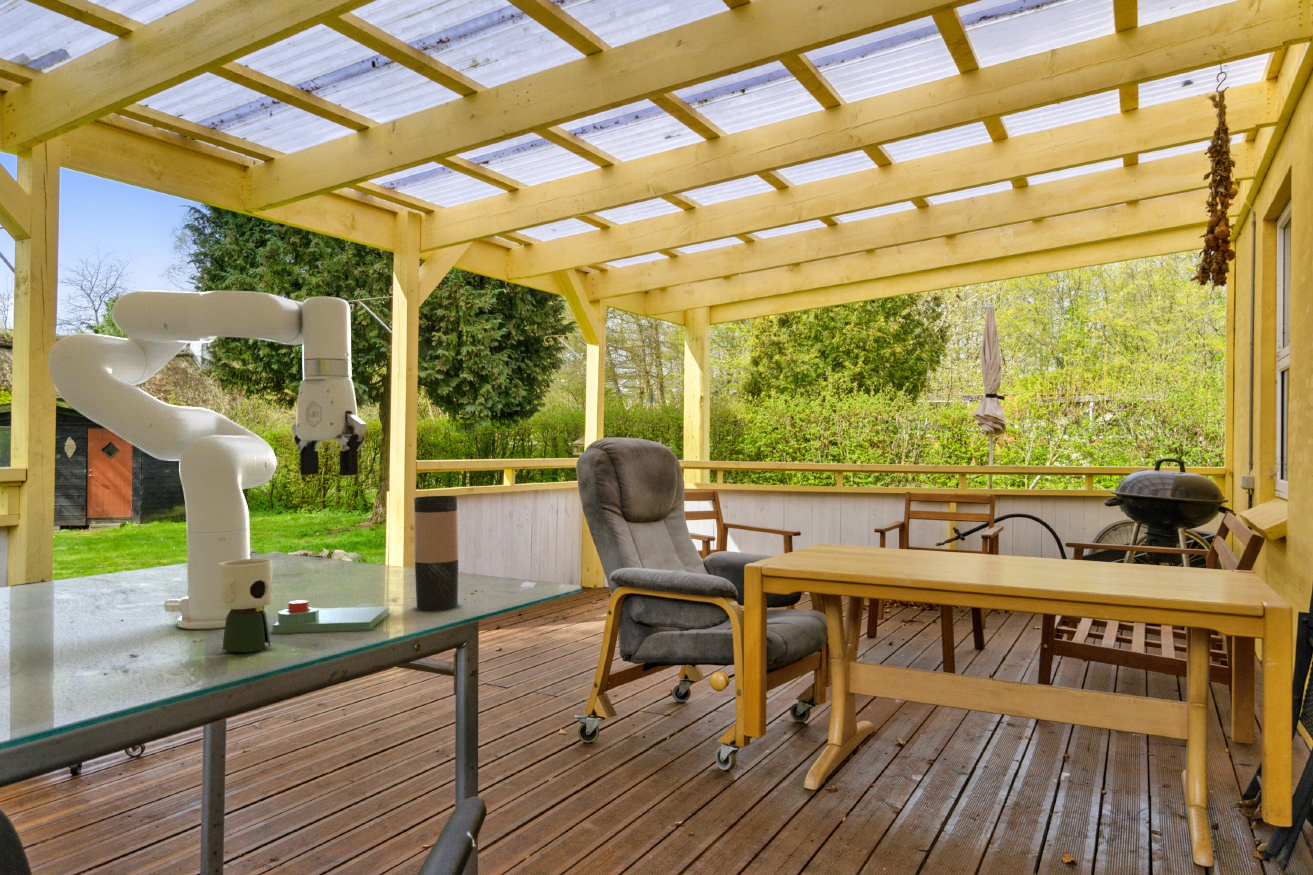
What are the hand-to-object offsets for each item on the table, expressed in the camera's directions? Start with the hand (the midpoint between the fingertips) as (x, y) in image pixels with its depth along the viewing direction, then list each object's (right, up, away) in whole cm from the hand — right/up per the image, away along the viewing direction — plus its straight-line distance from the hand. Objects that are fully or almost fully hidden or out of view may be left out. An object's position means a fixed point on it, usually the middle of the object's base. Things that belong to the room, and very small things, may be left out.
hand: (328, 474), depth 143 cm
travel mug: (+15, -25, +12) cm, 31 cm away
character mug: (-5, -25, -18) cm, 32 cm away
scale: (+1, -25, 0) cm, 25 cm away
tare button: (-3, -22, -4) cm, 23 cm away
